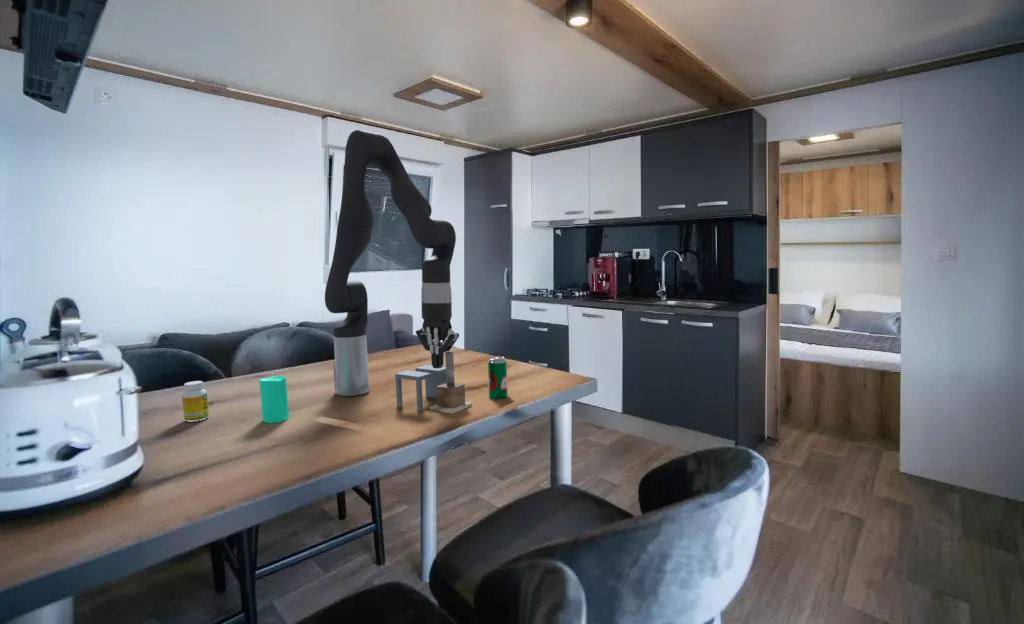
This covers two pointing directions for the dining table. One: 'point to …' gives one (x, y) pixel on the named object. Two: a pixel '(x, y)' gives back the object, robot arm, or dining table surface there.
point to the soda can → (497, 378)
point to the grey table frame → (426, 372)
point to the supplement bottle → (195, 401)
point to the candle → (274, 399)
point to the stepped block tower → (450, 391)
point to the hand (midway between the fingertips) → (437, 367)
